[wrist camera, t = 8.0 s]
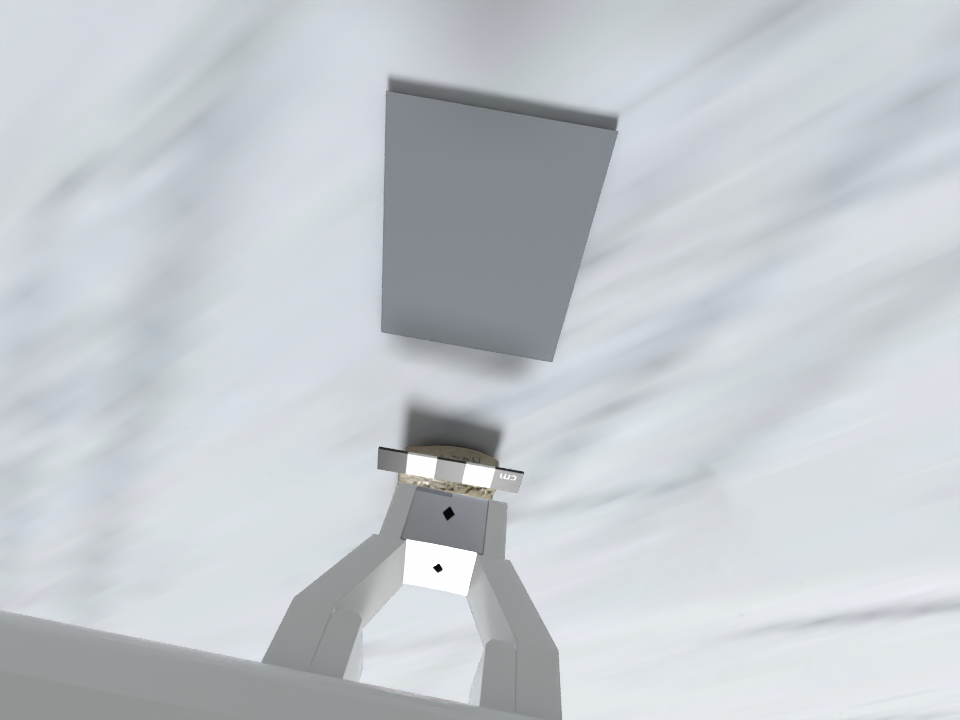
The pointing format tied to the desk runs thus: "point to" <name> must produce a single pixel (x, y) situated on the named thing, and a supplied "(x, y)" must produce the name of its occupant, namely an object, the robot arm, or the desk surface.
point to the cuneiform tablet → (450, 470)
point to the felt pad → (485, 223)
